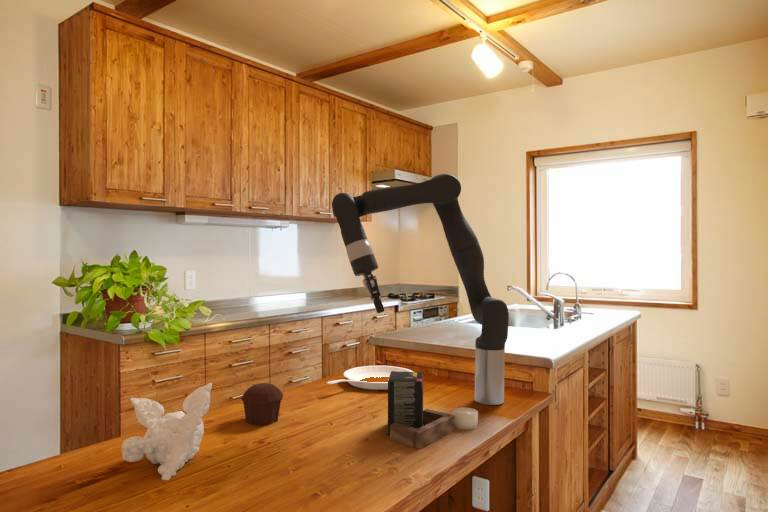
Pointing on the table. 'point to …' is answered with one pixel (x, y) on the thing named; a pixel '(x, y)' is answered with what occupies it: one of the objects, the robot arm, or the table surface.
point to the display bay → (424, 429)
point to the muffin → (262, 404)
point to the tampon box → (405, 399)
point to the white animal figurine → (168, 432)
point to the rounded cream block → (465, 418)
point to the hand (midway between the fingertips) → (381, 312)
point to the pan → (367, 372)
